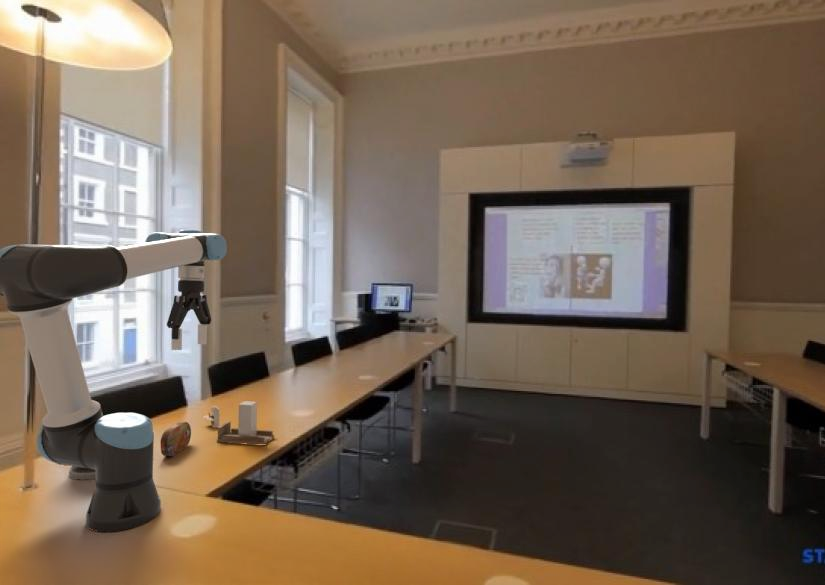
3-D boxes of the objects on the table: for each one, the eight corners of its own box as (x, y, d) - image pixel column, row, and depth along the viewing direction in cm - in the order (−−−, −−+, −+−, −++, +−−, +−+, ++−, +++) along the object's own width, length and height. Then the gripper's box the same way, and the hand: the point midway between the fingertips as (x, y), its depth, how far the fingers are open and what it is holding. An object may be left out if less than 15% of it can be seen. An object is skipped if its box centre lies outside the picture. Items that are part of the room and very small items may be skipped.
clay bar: (250, 439, 164) (251, 405, 164) (238, 439, 165) (238, 404, 164) (256, 435, 169) (257, 401, 168) (244, 434, 169) (244, 401, 169)
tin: (168, 460, 147) (168, 433, 147) (158, 460, 147) (158, 433, 147) (191, 443, 162) (192, 418, 162) (182, 443, 162) (182, 418, 162)
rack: (264, 445, 162) (264, 431, 162) (216, 442, 164) (217, 427, 164) (274, 437, 170) (274, 423, 170) (228, 434, 172) (228, 420, 172)
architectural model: (210, 430, 177) (210, 410, 177) (202, 425, 182) (203, 406, 182) (219, 428, 180) (219, 408, 180) (212, 424, 185) (212, 405, 184)
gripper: (178, 279, 138) (176, 353, 139) (223, 280, 163) (221, 342, 163) (154, 278, 139) (152, 351, 140) (202, 279, 164) (201, 341, 164)
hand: (189, 346), depth 151 cm, fingers open, 13 cm apart
